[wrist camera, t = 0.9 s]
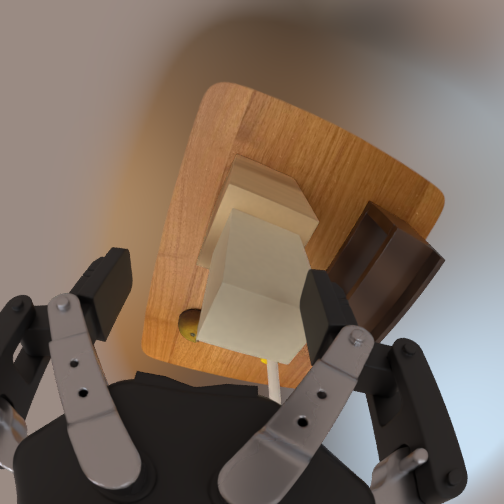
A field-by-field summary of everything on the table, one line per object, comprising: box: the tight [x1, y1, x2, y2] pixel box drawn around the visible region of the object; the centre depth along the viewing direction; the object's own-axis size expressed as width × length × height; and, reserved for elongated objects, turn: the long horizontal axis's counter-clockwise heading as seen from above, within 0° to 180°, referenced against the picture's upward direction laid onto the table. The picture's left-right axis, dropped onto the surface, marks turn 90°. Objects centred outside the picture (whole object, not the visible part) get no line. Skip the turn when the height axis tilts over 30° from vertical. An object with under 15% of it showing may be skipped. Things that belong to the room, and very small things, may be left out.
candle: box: [260, 358, 281, 405], centre depth 42 cm, size 5×5×16 cm
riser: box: [196, 154, 319, 270], centre depth 30 cm, size 8×8×14 cm
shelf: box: [327, 201, 445, 343], centre depth 36 cm, size 18×8×11 cm, turn 156°
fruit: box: [178, 309, 201, 342], centre depth 45 cm, size 8×8×4 cm
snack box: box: [196, 208, 311, 364], centre depth 19 cm, size 4×6×10 cm
